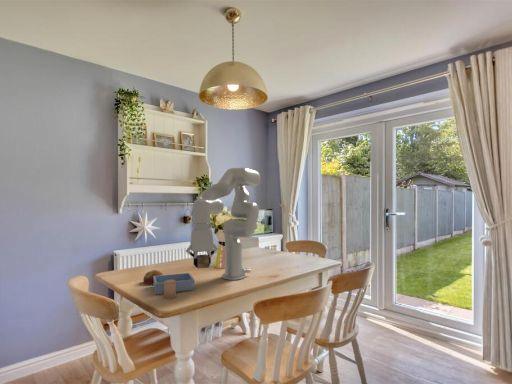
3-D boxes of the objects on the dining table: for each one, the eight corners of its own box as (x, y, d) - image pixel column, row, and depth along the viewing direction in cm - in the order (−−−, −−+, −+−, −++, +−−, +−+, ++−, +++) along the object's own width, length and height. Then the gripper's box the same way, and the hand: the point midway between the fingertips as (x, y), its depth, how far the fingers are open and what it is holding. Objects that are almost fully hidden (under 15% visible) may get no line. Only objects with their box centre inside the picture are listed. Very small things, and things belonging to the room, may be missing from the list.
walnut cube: (206, 264, 143) (206, 254, 143) (208, 267, 138) (208, 256, 138) (195, 265, 141) (195, 255, 141) (197, 268, 136) (197, 257, 136)
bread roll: (159, 285, 162) (155, 271, 164) (169, 280, 156) (165, 265, 158) (142, 290, 154) (138, 275, 156) (152, 285, 148) (148, 269, 150)
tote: (189, 282, 156) (189, 272, 156) (194, 290, 143) (194, 279, 143) (153, 286, 149) (153, 276, 149) (155, 294, 136) (155, 283, 136)
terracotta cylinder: (175, 294, 137) (175, 279, 137) (176, 298, 133) (176, 282, 133) (163, 295, 135) (163, 280, 135) (164, 299, 131) (164, 283, 131)
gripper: (217, 224, 146) (218, 262, 146) (181, 226, 140) (182, 265, 140) (222, 226, 139) (222, 266, 139) (184, 228, 133) (184, 270, 133)
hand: (202, 265), depth 140 cm, fingers closed on walnut cube, 5 cm apart
